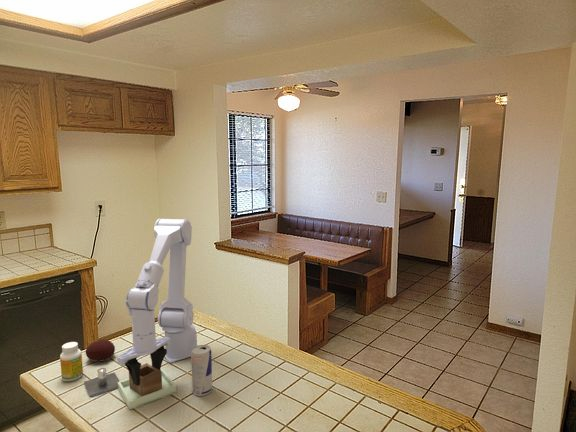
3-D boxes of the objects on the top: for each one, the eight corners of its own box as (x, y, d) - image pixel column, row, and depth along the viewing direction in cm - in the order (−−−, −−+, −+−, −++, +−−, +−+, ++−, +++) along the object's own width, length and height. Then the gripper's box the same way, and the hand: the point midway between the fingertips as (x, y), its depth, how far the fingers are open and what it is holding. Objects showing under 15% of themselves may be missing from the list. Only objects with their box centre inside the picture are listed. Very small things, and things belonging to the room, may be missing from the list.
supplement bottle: (73, 382, 109) (71, 350, 108) (57, 380, 110) (54, 348, 109) (87, 372, 115) (84, 341, 113) (71, 370, 116) (68, 339, 114)
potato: (94, 352, 126) (93, 335, 126) (120, 353, 126) (118, 335, 125) (82, 364, 119) (80, 346, 118) (108, 365, 119) (107, 346, 118)
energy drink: (216, 387, 107) (214, 346, 106) (205, 398, 102) (204, 355, 101) (199, 383, 109) (197, 343, 107) (188, 394, 104) (186, 352, 102)
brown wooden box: (129, 388, 106) (128, 371, 105) (147, 379, 110) (146, 363, 109) (144, 397, 102) (143, 380, 101) (162, 388, 106) (161, 371, 105)
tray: (162, 374, 114) (161, 367, 113) (176, 392, 105) (176, 385, 105) (118, 388, 106) (117, 382, 106) (129, 409, 98) (129, 402, 97)
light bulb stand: (114, 374, 114) (113, 359, 113) (121, 386, 107) (120, 371, 107) (84, 383, 109) (82, 368, 108) (89, 397, 103) (88, 381, 102)
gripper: (158, 318, 111) (161, 363, 113) (109, 336, 100) (113, 385, 102) (174, 325, 107) (176, 371, 109) (124, 344, 96) (127, 395, 98)
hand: (146, 379), depth 105 cm, fingers closed on brown wooden box, 5 cm apart
